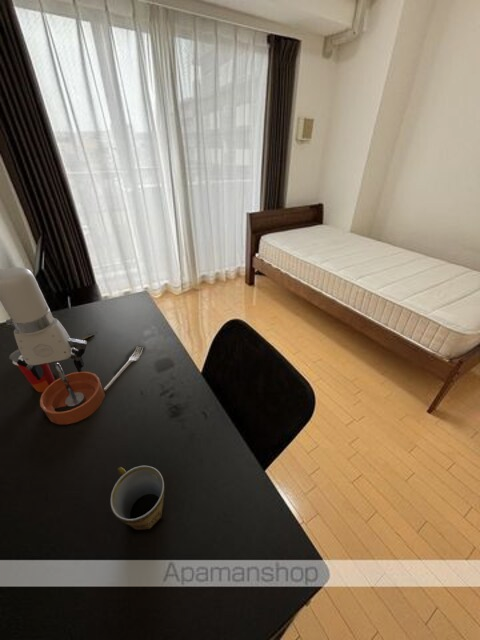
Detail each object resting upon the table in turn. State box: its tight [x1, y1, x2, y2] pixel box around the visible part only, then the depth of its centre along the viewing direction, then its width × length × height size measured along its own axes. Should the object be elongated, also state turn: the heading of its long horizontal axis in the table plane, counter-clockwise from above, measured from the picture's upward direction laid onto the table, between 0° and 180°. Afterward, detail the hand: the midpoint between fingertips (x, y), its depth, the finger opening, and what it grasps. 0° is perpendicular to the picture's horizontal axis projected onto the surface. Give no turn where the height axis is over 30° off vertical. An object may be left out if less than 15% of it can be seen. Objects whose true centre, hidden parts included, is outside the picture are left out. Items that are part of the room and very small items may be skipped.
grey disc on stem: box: [54, 362, 86, 410], centre depth 79 cm, size 5×5×16 cm
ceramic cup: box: [109, 465, 165, 531], centre depth 58 cm, size 13×10×10 cm
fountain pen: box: [80, 334, 95, 342], centre depth 106 cm, size 14×1×2 cm, turn 135°
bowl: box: [39, 371, 106, 425], centre depth 82 cm, size 15×15×6 cm
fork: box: [103, 345, 144, 392], centre depth 95 cm, size 3×20×2 cm, turn 163°
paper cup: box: [12, 355, 56, 393], centre depth 86 cm, size 8×8×14 cm
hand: (61, 372), depth 76 cm, fingers open, 9 cm apart
